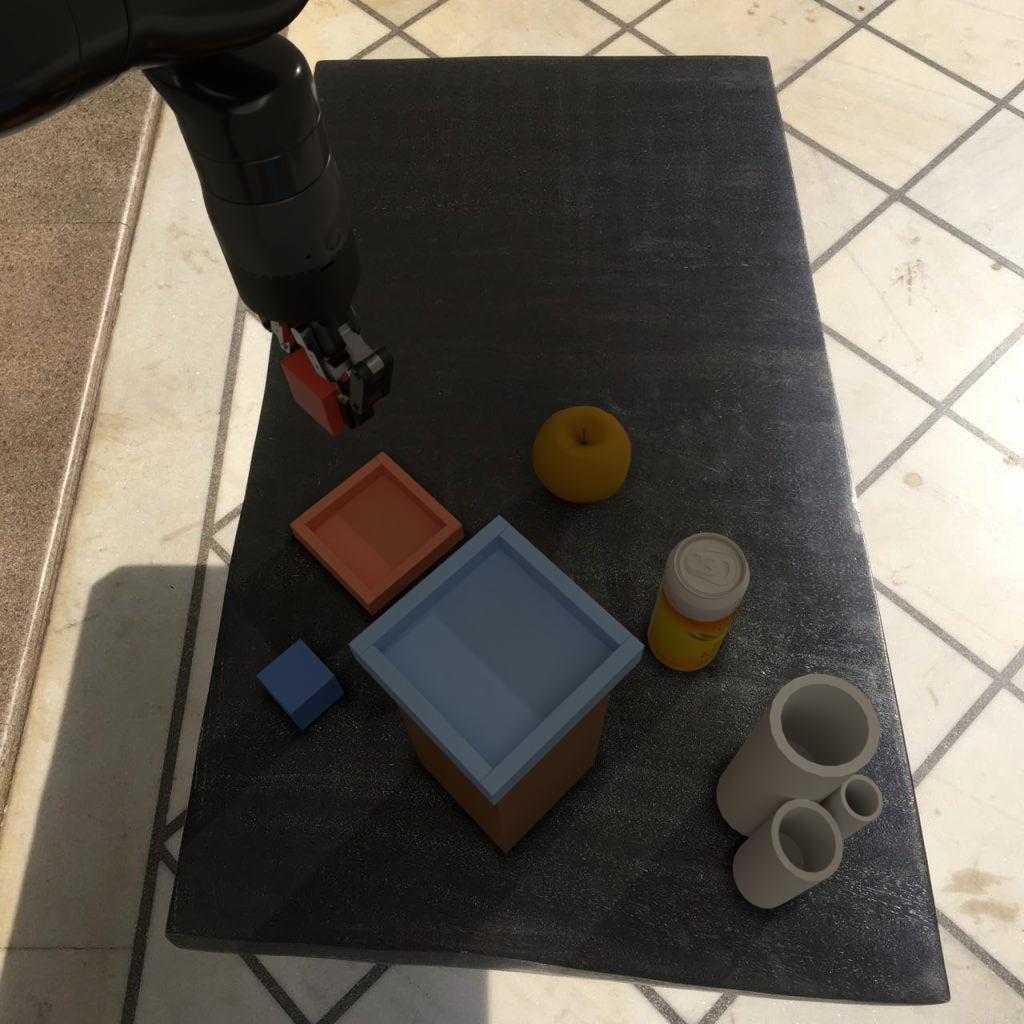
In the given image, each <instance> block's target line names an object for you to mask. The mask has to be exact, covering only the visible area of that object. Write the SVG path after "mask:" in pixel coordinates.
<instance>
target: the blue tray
mask: <svg viewBox="0 0 1024 1024" xmlns="http://www.w3.org/2000/svg"><path fill="white" fill-rule="evenodd" d="M348 647H349V649H350V651H351V653H352V655H353V658H354V659H355V660H356V661H357V663H358V664H360V665H361V667H362V668H363V669H364V670H365V671H366V672H367V673H368V674H369V675H370V676H371V677H372V678H373V679H374V680H375V681H376V683H377V684H378V685H379V686H380V687H381V688H382V689H383V690H384V691H385V692H386V693H387V694H388V695H389V696H390V697H391V698H392V699H393V701H394V702H395V703H396V705H397V707H398V710H399V712H400V715H401V717H402V719H403V722H404V725H405V727H406V730H407V733H408V735H409V736H410V739H411V742H412V744H413V747H414V749H415V752H416V755H417V757H418V759H419V762H420V764H421V765H423V767H424V768H425V769H426V770H427V771H428V772H429V773H430V774H431V775H432V776H433V778H434V779H435V780H436V781H437V782H438V783H439V784H440V785H441V787H443V788H444V789H445V790H446V791H447V793H448V794H449V795H450V796H451V797H452V798H453V799H454V800H455V801H456V802H457V803H458V804H459V805H460V807H461V808H462V809H463V810H464V811H465V812H466V813H467V814H468V815H469V816H470V817H471V818H472V820H474V822H475V823H476V824H477V825H478V826H479V827H480V828H481V829H482V831H484V832H485V834H486V835H488V837H489V838H490V839H491V840H492V841H493V842H494V844H496V845H497V846H498V848H500V850H501V851H502V852H503V853H504V854H507V853H508V852H509V851H510V850H511V849H512V848H513V847H514V846H515V845H516V844H517V843H518V842H519V841H520V840H521V839H522V838H523V837H524V836H525V835H526V834H527V833H528V832H529V831H530V830H531V829H532V828H533V827H534V826H535V825H536V824H537V823H538V822H539V821H540V820H541V819H542V818H543V817H544V815H546V814H547V813H548V812H549V810H551V808H552V807H554V805H556V803H557V802H559V801H560V800H561V798H562V797H563V796H564V795H565V794H566V793H567V792H568V791H570V789H571V788H572V787H573V786H574V785H575V784H576V783H577V782H578V781H579V780H580V779H581V778H582V777H583V776H584V775H585V774H586V773H587V772H588V771H589V770H590V769H591V768H592V767H593V766H594V765H595V763H596V758H597V753H598V749H599V744H600V739H601V734H602V729H603V725H604V720H605V716H606V713H607V712H606V711H607V706H608V701H609V696H610V693H611V691H612V690H613V689H614V688H615V686H617V685H618V684H619V683H620V682H621V681H622V680H623V679H624V677H626V676H627V675H628V674H629V673H630V672H631V671H632V670H633V669H634V668H635V667H636V666H637V665H638V664H639V663H640V662H641V660H642V656H643V653H644V649H645V645H644V644H643V643H642V642H641V641H640V640H639V639H638V638H637V637H636V636H634V635H633V634H632V633H631V632H630V630H628V629H627V628H626V627H624V626H623V625H622V624H621V623H620V622H619V621H618V620H617V619H616V618H615V617H613V616H612V615H611V614H610V613H609V612H608V611H607V610H605V608H603V607H602V606H601V605H600V603H598V602H596V600H595V599H594V598H593V597H591V596H590V595H589V594H588V593H586V591H584V590H583V589H582V588H581V587H580V586H579V585H578V584H577V583H576V582H575V581H574V580H572V579H571V578H570V577H569V576H568V575H567V574H566V573H564V572H563V571H562V570H561V568H559V567H558V566H556V565H555V563H553V561H551V560H550V559H549V558H548V557H547V556H546V555H544V554H543V553H542V552H541V551H540V550H539V549H538V548H537V547H535V546H534V545H533V544H532V543H531V542H530V541H529V540H528V539H527V538H526V537H525V536H523V535H522V534H521V533H520V532H519V531H518V530H517V529H516V528H514V527H513V525H511V524H510V523H509V522H508V521H507V520H505V518H503V517H502V516H501V515H500V514H498V515H497V516H496V517H494V518H493V520H491V521H490V522H489V523H488V524H486V526H483V528H482V529H480V530H479V531H478V532H477V533H476V534H475V535H474V536H473V537H471V538H470V539H469V540H468V541H467V542H465V543H464V544H463V545H461V547H460V548H458V549H457V550H456V551H454V553H453V554H451V555H450V556H449V557H448V558H447V559H446V560H445V561H443V562H442V563H441V564H440V565H438V567H436V568H435V569H434V570H433V571H431V572H430V573H429V574H428V575H427V576H426V577H425V578H423V579H422V580H421V581H420V582H419V583H418V584H416V585H415V586H414V587H413V588H412V589H411V590H409V591H408V592H407V593H405V595H403V597H401V598H400V599H399V600H397V601H396V602H395V603H394V604H393V605H392V606H391V607H390V608H388V609H387V610H386V611H385V612H384V613H383V614H381V615H380V616H379V617H378V618H377V619H376V620H374V621H373V622H372V623H371V624H369V626H367V627H366V628H365V629H364V630H363V631H361V632H360V633H359V634H358V635H357V636H356V637H354V638H353V639H352V640H351V641H350V642H349V643H348Z"/></svg>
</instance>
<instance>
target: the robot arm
mask: <svg viewBox="0 0 1024 1024" xmlns="http://www.w3.org/2000/svg"><path fill="white" fill-rule="evenodd" d="M309 1H310V0H0V140H3V139H5V138H7V137H11V136H14V135H17V134H19V133H21V132H23V131H25V130H28V129H30V128H32V127H35V126H37V125H38V124H41V123H42V122H44V121H46V120H48V119H50V118H52V117H54V116H55V115H56V114H59V113H61V112H62V111H64V110H66V109H68V108H70V107H71V106H73V105H76V104H77V103H79V102H81V101H82V100H84V99H87V98H89V97H90V96H92V95H93V94H95V93H97V92H99V91H101V90H102V89H105V88H106V87H108V86H110V85H111V84H113V83H114V82H117V81H118V80H119V79H121V78H123V77H124V76H126V75H127V74H130V73H132V72H133V73H134V72H137V71H141V73H142V75H144V77H145V78H146V80H147V81H148V82H149V84H150V85H151V86H152V87H153V89H154V90H155V91H156V93H158V95H159V96H160V97H161V98H162V99H163V100H164V102H165V103H166V105H167V106H168V107H169V108H170V110H171V111H172V113H173V115H174V117H175V120H176V122H177V126H178V129H179V132H180V134H181V136H182V139H183V142H184V144H185V146H186V149H187V152H188V154H189V156H190V159H191V162H192V164H193V167H194V170H195V172H196V173H197V174H196V175H197V177H198V181H199V184H200V189H201V194H202V195H201V196H202V199H203V204H204V208H205V211H206V213H207V216H208V220H209V222H210V225H211V227H212V229H213V232H214V235H215V237H216V240H217V242H218V245H219V247H220V251H221V253H222V255H223V258H224V260H225V263H226V265H227V268H228V270H229V273H230V275H231V278H232V280H233V283H234V285H235V288H236V291H237V294H238V296H239V298H240V299H241V301H242V302H243V304H244V305H245V306H246V307H247V308H248V309H249V310H250V311H252V312H253V313H254V314H255V315H257V316H258V318H259V320H260V322H261V325H262V327H263V328H264V329H265V330H266V331H267V332H269V333H274V334H275V336H276V337H277V338H278V339H277V340H278V342H279V346H280V348H281V349H282V350H283V351H285V352H286V353H287V354H288V356H289V355H290V354H292V353H293V352H295V351H296V350H297V349H299V348H300V347H304V349H305V351H306V353H307V355H308V357H309V359H310V361H311V363H312V365H313V367H314V369H315V371H316V373H317V374H318V375H319V376H321V377H322V378H324V379H325V380H327V381H328V382H330V384H331V386H332V388H333V390H334V393H335V394H336V399H337V402H338V405H339V409H340V412H341V415H342V418H343V422H344V423H345V424H346V425H347V428H349V429H350V430H355V429H356V428H358V429H359V428H360V427H361V426H363V425H364V424H366V423H367V421H369V420H371V419H372V418H373V417H374V416H375V410H374V406H373V405H374V404H375V403H376V402H377V401H379V400H380V399H383V398H386V396H388V395H389V394H390V393H391V386H392V378H393V371H394V364H395V363H394V362H395V359H394V356H393V354H392V352H391V350H389V349H388V348H387V347H386V346H385V345H380V346H379V347H378V348H374V349H371V348H370V346H368V344H367V343H366V342H365V341H364V339H363V337H362V335H361V325H360V322H359V321H358V318H357V315H356V312H355V310H354V307H353V305H352V303H353V300H354V296H355V294H356V292H357V290H358V286H359V283H360V281H361V276H362V264H361V259H360V253H359V250H358V245H357V240H356V236H355V231H354V227H353V222H352V217H351V212H350V209H349V204H348V200H347V195H346V190H345V186H344V183H343V179H342V174H341V172H340V169H339V166H338V164H337V161H336V159H335V156H334V155H333V152H332V149H331V146H330V142H329V141H330V140H329V136H328V132H327V127H326V124H325V119H324V115H323V110H322V106H321V102H320V101H321V100H320V97H319V93H318V92H319V91H318V88H317V84H316V81H315V78H314V74H313V72H312V69H311V67H310V64H309V61H308V60H307V58H306V56H305V55H304V54H303V52H302V51H301V50H300V49H299V47H298V46H297V45H296V44H294V43H293V42H292V40H290V39H289V38H287V37H286V36H284V35H282V34H280V33H281V32H282V31H283V30H285V29H286V28H287V27H289V26H290V24H292V23H293V22H294V21H295V20H296V18H298V17H299V15H300V14H301V13H302V12H303V10H304V9H305V8H306V6H307V4H308V3H309ZM324 357H325V358H330V359H329V360H327V361H326V360H325V358H324ZM345 372H347V374H348V375H349V376H350V378H349V379H347V380H346V381H345V382H343V380H342V375H343V374H344V373H345Z"/></svg>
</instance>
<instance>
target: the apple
mask: <svg viewBox="0 0 1024 1024" xmlns="http://www.w3.org/2000/svg"><path fill="white" fill-rule="evenodd" d="M531 460H532V466H533V470H534V473H535V475H536V476H537V478H538V479H539V481H540V483H541V484H542V485H543V487H544V488H546V489H547V490H548V491H549V492H550V493H552V494H553V495H554V496H555V497H558V498H559V499H561V500H564V501H567V502H570V503H577V504H583V503H584V504H591V503H596V502H601V501H604V500H608V499H609V498H611V497H612V496H614V495H615V494H616V493H617V492H618V491H619V489H620V488H621V487H622V485H623V483H624V482H625V481H626V478H627V474H628V471H629V468H630V466H631V465H630V464H631V461H632V442H631V440H630V438H629V435H628V433H627V432H626V430H625V429H624V426H623V425H622V424H621V423H620V421H618V419H617V418H616V417H615V416H614V415H612V414H611V413H609V412H607V411H605V410H603V409H602V408H600V407H597V406H589V405H578V406H577V405H576V406H570V407H567V408H565V409H561V410H559V411H556V412H554V413H553V414H552V415H551V416H550V417H549V418H548V419H546V420H545V421H544V423H543V424H542V425H541V427H540V428H539V431H538V433H537V435H536V437H535V439H534V443H533V446H532V449H531Z"/></svg>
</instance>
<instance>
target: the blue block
mask: <svg viewBox="0 0 1024 1024" xmlns="http://www.w3.org/2000/svg"><path fill="white" fill-rule="evenodd" d="M256 678H257V679H258V681H259V682H260V683H261V685H262V686H263V687H264V688H265V690H266V691H267V692H268V694H269V695H270V696H271V697H272V699H274V701H275V702H276V703H277V704H278V705H279V706H280V707H281V708H282V710H283V711H284V712H285V713H286V714H287V715H288V717H290V719H291V720H292V721H293V722H294V723H295V724H296V726H297V727H298V728H299V729H300V730H301V731H303V730H305V729H306V728H307V727H309V725H310V724H311V723H313V722H314V721H315V720H316V719H317V718H318V717H320V716H321V714H323V713H324V712H325V711H327V709H328V708H330V707H331V706H332V705H333V704H334V703H335V702H336V701H338V700H339V699H340V698H341V697H342V696H343V695H344V691H343V689H342V687H341V686H340V683H339V682H338V680H337V678H336V676H335V675H334V673H332V671H331V670H330V669H329V668H328V667H327V666H326V665H325V663H323V662H322V661H321V660H320V658H319V657H318V656H317V655H316V654H315V653H314V652H313V651H312V650H311V648H310V647H309V646H308V645H307V644H306V643H305V642H304V641H303V640H302V638H299V639H298V640H296V642H294V643H293V644H292V645H290V647H288V648H287V649H286V650H285V651H284V652H282V653H281V654H280V655H279V656H278V657H276V658H275V659H273V661H271V662H270V663H269V664H268V665H267V666H265V667H264V668H263V669H262V670H261V671H260V672H258V673H257V674H256Z"/></svg>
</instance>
